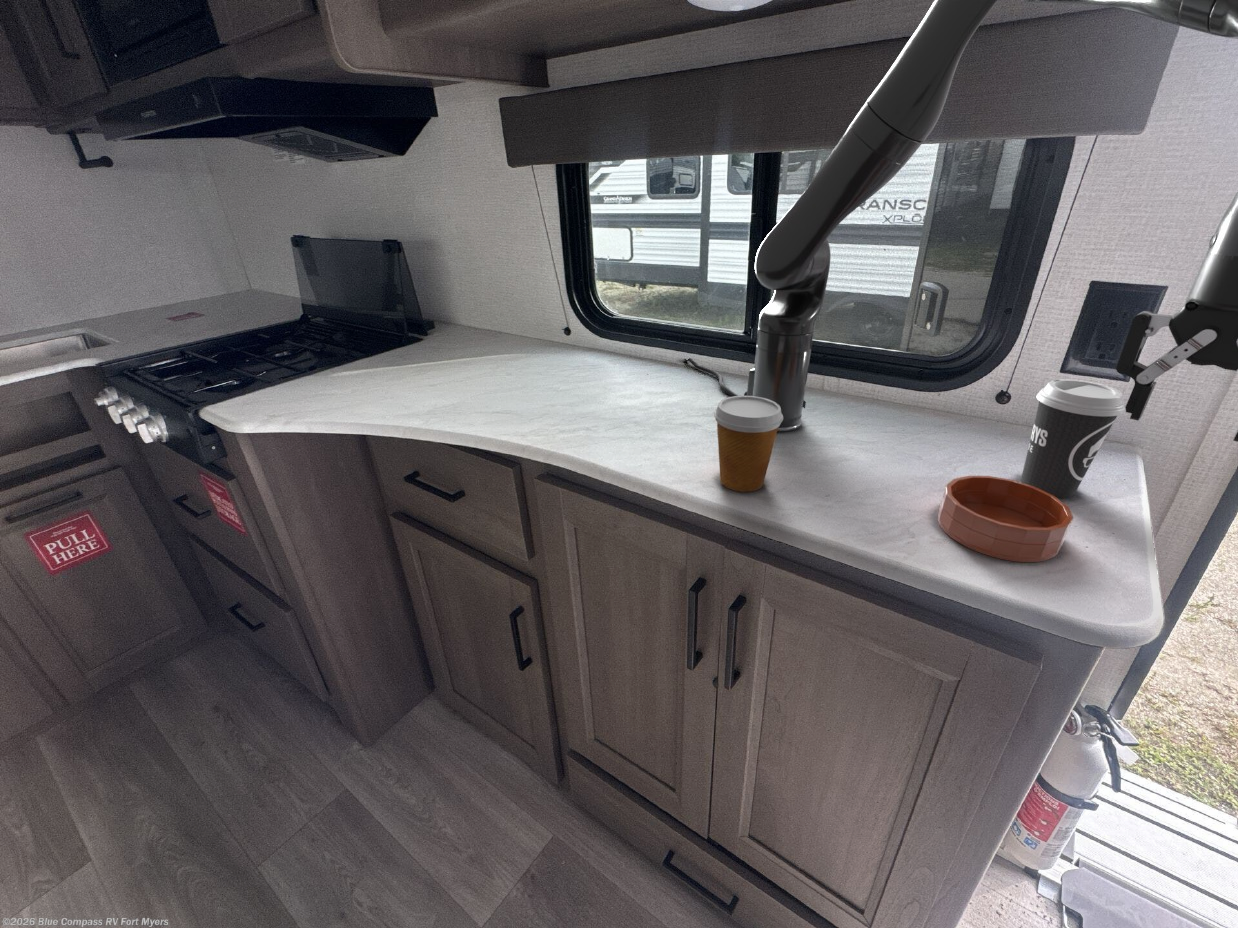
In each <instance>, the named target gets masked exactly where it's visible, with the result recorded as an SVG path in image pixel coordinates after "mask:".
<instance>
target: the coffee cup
mask: <svg viewBox="0 0 1238 928" xmlns="http://www.w3.org/2000/svg"><path fill="white" fill-rule="evenodd" d="M1035 397H1036V399H1037V401H1038V403H1037V409H1036V413H1035V417H1034V422H1033V426H1032V430H1031V431H1032V432H1031V434H1030V439H1029V443H1028V448H1027V452H1026V456H1025V460H1024V464H1023V470H1022V473H1021V478H1020V482H1021V483H1024V484H1028V485H1031V486H1034V487H1036V488H1039V489H1041V490H1043V491H1045V492H1047V493H1049V494H1051V495H1053V496H1055V497H1057V498H1058V499H1068V498H1072V497H1074V496H1075V494H1076V493H1077V490H1078V489H1079V487H1080V485H1081V483H1082V482H1083V479H1084V477H1085V476H1086V474H1087V472H1088V470H1089V468H1090V467H1091V465H1092V463H1093V461H1094V459H1095V458H1096V455H1097V454H1098V452H1099V450H1100V448H1101V446H1102V445H1103V443H1104V440H1105V439H1106V437H1107V435H1108V433H1109V432H1110V430H1111V429H1112V427H1113V425H1114V423H1115V421H1116V420H1117V417H1118V416H1121V415H1123V414H1124V413H1125V411H1126V408H1125V407H1126V405H1125V402H1124V400H1123V393H1122V392H1121V391H1120V390H1119V389H1117V388H1115V387H1112V386H1110V385H1106V384H1102V383H1098V382H1094V381H1089V380H1082V379H1071V378H1059V379H1058V378H1057V379H1052V380H1050V381H1049V382H1048V383H1047V384H1046V385H1045V386H1044V387H1042V388H1041V389H1040V390H1039V391H1038V393H1037V394H1036V396H1035Z"/></svg>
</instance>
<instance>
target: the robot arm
mask: <svg viewBox="0 0 1238 928" xmlns="http://www.w3.org/2000/svg"><path fill="white" fill-rule="evenodd" d="M998 1H999V0H934V1H933V2H932V5H931V6H930V8H929V9H928V11H927V12H926V14H925V16H924V17H923V19H922V20H921V22H920V23H919V25H918V27H917V28H916V29H915V31H914V32H913V34H912V36H911V37H910V38H909V40H908V41H907V42H906V44H905V45H904V47H903V49H902V50H901V52H900V53H899V55H898V56H897V57H896V58H895V61H894V62H893V64H892V65H891V67H890V68H889V70H888V71H887V72H886V74H885V75H884V76H883V78H882V79H881V81H880V82H879V83H878V85H877V86H876V87H875V89H874V90H873V92H872V93H871V94H870V96H869V97H867V100H866V101H865V103H863V106H861V108H860V110H859V111H858V112H857V114H856V115H855V117H854V119H852V121H851V123H850V124H849V125H848V127H847V129H846V130H845V132H844V133H843V134H842V136H841V137H840V139H839V141H838V142H837V144H835V146H834V148H833V149H832V151H831V152H830V153H829V155H828V156H827V158H826V160H824V162H823V163H822V165H821V166H820V168H819V169H818V171H817V172H816V174H815V175H814V176H813V178H812V179H811V181H810V182H809V184H808V185H807V186H806V188H805V189H804V191H803V193H802V194H801V195H800V196H799V198H797V200H796V201H795V202H794V204H793V205H792V206H791V207H790V209H789V210H788V211H787V212H786V213H785V214H784V215H783V216H782V218H781V219H780V220H779V221H778V222H777V224H776V225H775V226H774V227H773V228H772V230H771V231H770V232H769V233H768V234H767V235H766V237H765V238H764V240H763V241H762V242H761V244H760V246H759V248H758V249H757V252H756V256H755V262H754V270H755V271H754V272H755V276H756V278H757V280H758V282H759V284H760V285H761V286H763V287H764V288H766V289H768V290H772V291H774V293H773V296H772V297H771V300H770V301H769V303H768V304H767V305H766V306H765V307H764V308H763V309H762V310H761V311H760V314H759V317H758V324H757V325H758V326H757V327H758V328H757V336H756V347H755V358H754V367H753V368H752V369H750V370H749V371H748V377H747V378H748V379H747V388H746V389H747V390H746V391H745V392H744V393H743V396H755V397H762V398H766V399H769V400H772V401H774V402H776V403H777V404H778V405H779V406H780V407H781V413H782V415H783V421H782V422H781V424H780V426H779V427H778V431H777V432H790V431H794V430H797V429H798V428H800V427H801V425H802V417H803V409H806V405H807V401H805V394H806V388H807V381H808V374H809V367H810V360H811V353H812V346H813V339H814V333H815V326H816V322H817V319H818V318H819V316H820V314H821V313H822V312H821V311H822V309H823V306H824V300H825V295H826V294H825V293H826V288H827V284H828V280H829V276H830V275H829V274H830V268H831V259H832V258H831V254H832V253H831V247H830V242H829V240H828V238H829V237H830V235H831V234H832V232H833V231H834V230H835V229H836V228H837V227H838V226H839V225H840V224H841V223H842V222H843V221H844V220H845V219H846V218H847V217H848V216H849V215H850V214H852V213H853V212H854V211H855V210H856V209H858V208H859V207H860V206H862V205H863V204H864V203H866V202H867V201H868V200H869V199H871V197H874V195H875V194H876V193H878V192H879V191H880V190H881V189H882V188H883V187H885V186H886V185H887V184H888V183H889V182H890V181H891V180H892V179H893V178H894V177H895V176H896V175H897V174H898V173H899V172H900V171H901V170H902V168H903V167H904V166H905V165H906V164H907V163H908V161H909V160H910V159H911V158H912V157H913V155H914V154H915V153H916V152H917V150H918V149H920V147H921V146H922V144H923V143H924V142H925V141H926V140H927V138H928V137H929V135H930V134H931V133H932V131H934V128H935V127H936V126H937V124H938V121H939V120H940V117H941V114H942V112H943V111H944V107H945V104H946V102H947V98H948V97H949V93H950V89H951V86H952V83H953V80H954V77H955V74H956V71H957V68H958V65H959V63H960V60H961V58H962V56H963V53H964V51H965V49H966V48H967V45H968V44H969V42H970V40H971V38H972V37H973V36H974V35H975V32H976V31H977V29H978V28H979V27H980V25H981V24H982V23H983V21H984V20H985V19H986V18H987V16H988V15H989V13H990V12H991V10H992V9H993V8H994V6H995V5H996V4H997V3H998ZM1020 1H1021V2H1027V3H1046V4H1047V3H1050V4H1051V3H1052V4H1086V5H1096V6H1104V7H1110V8H1116V9H1120V10H1124V11H1127V12H1131V13H1136V14H1139V15H1142V16H1144V17H1145V16H1146V17H1149V18H1152V19H1155V20H1159V21H1162V22H1165V23H1168V24H1172V25H1175V26H1179V27H1182V28H1186V29H1190V30H1193V31H1197V32H1201V33H1204V34H1207V35H1212V36H1215V37H1216V36H1217V37H1221V38H1226V39H1233V40H1238V0H1020ZM1163 327H1168V329H1169V331H1170V333H1171V335H1172V337H1173V340H1174V342H1175V344H1176V346H1175V347H1173V348H1171V349H1170V350H1168V351H1167V352H1166V353H1164V354H1163V355H1162V356H1160V357H1159V358H1158V359H1156V360H1154V361H1153V362H1151V363H1150V364H1148V365H1145V364H1143V363H1141V362H1139V360H1140V357H1141V353H1142V350H1143V347H1144V345H1145V342H1146V339H1147V338H1148V337H1153V336H1155V335H1157V333H1158V332H1159V331H1160V329H1162V328H1163ZM1185 360H1186V361H1187V362H1190V365H1194V366H1195V365H1196V366H1216V367H1218V368H1221V369H1223V370H1228V371H1235V372H1237V371H1238V191H1237V192H1235V194H1234V197H1233V199H1232V201H1231V202H1230V204H1229V206H1228V207H1227V209H1226V211H1225V212H1224V214H1223V215H1222V218H1221V219H1220V221H1219V223H1218V225H1217V227H1216V230H1215V232H1214V234H1212V236H1211V238H1210V240H1209V242H1208V249H1207V251H1206V253H1205V256H1204V258H1203V261H1202V262H1201V265H1200V266H1199V270H1198V272H1197V274H1196V277H1195V279H1194V280H1193V283H1192V286H1191V288H1190V291H1189V293H1188V294H1187V297H1186V299H1185V302H1184V304H1183V306H1182V308H1181V309H1180V310H1179V311H1178V312H1176V313H1175V314H1174V315H1173V314H1163V313H1153V312H1152V311H1151V310H1143V311H1141V312H1139V313H1138V314H1137V315H1135V316H1133V318H1132V321H1131V324H1130V327H1129V329H1128V333H1127V335H1126V338H1125V341H1124V344H1123V347H1122V350H1121V353H1120V355H1119V359H1118V362H1117V364H1116V368H1115V370H1116V372H1117V373H1118V374H1120V375H1125V376H1126V377H1129V378H1132V380H1133V382H1134V384H1133V387H1132V390H1131V393H1130V395H1129V398H1128V400H1127V402H1126V403H1125V413H1128V414H1130V417H1129V420H1132V421H1138V422H1139V421H1140V419H1141V418H1142V416H1143V415H1144V412H1145V410H1146V408H1147V405H1148V403H1149V401H1150V398H1151V396H1152V393H1153V391H1154V389H1155V387H1156V385H1157V382H1156V381H1155V380H1156V379H1157V378H1159V377H1160V376H1162V375H1163V374H1165V373H1167V372H1168V371H1169V370H1171V369H1173V368H1174V367H1175V366H1177V365H1179V364H1180V363H1182V362H1183V361H1185ZM687 362H689V363H690V364H691V365H692V366H694V367H695V368H696V369H698V370H700V371H703V372H705V373H708V374H711V375H712V376H714V377H716V378H717V379H718V384H719V387H720V389H721V390H722V391H724V393H726V394H727V395H729V397H733V396H739V395H738V394H737V393H735V392H733V391H732V390H731V389H730V388H729V387H727V386H726V385H725V384H724V377H723V376H722V375H721V373H719V372H717V371H716V370H714V369H711V368H708V367H706V366H703V365H701V364H699V363H697V362H696V361H695V360H694V359H693V358H691V357H690V358H689V359H688V360H686V359H685V358H684V359H683V360H682V363H687ZM1232 441H1233V442H1237V443H1238V429H1237V430H1236V432H1235V435H1234V437H1233V440H1232Z"/></svg>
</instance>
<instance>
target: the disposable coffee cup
mask: <svg viewBox="0 0 1238 928" xmlns="http://www.w3.org/2000/svg"><path fill="white" fill-rule="evenodd" d="M713 415H714V418H715V421H716V427H717V428H716V430H717V446H718V462H719V463H718V464H719V482H720V484H721V485H722V486H724V487H725V488H727V489H729V490H732V491H735V492H743V493H744V492H748V493H749V492H755V491H757V490H759V489H761V488H762V487H763V486H764V483H765V479H766V475H767V472H768V468H769V464H770V460H771V457H772V453H773V449H774V445H775V442H776V438H777V434H778V432H779V431H778V427H779V426H780V424H781V422H782V421H783V415H782V413H781V407H780V406H779V405H778V404H777V403H776V402H774V401H772V400H769V399H766V398H762V397H755V396H744V395H738V396H733V397H731V396H729V397H725V398H723V399H721V400H719V402H718V404H717V407H716V408H715V409H714V411H713Z"/></svg>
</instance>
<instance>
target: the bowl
mask: <svg viewBox="0 0 1238 928" xmlns="http://www.w3.org/2000/svg"><path fill="white" fill-rule="evenodd" d="M1073 521H1074V515H1073V513H1072V511H1071V509H1070V507H1069V506H1068V505H1067V504H1066V503H1065V502H1063V501H1061V499H1060V498H1057V497H1055V496H1053V495H1051V494H1049V493H1047V492H1045V491H1043V490H1041V489H1039V488H1036V487H1034V486H1031V485H1028V484H1024V483H1021V481H1017V480H1014V479H1010V478H1004V477H998V476H992V475H965V476H961V477H956V478H953V479H952V480H951V481H949V482H948V483H947V484H946V485H945V488H944V491H943V495H942V498H941V500H940V505H939V508H938V515H937V522H938V525H939V527H940V528H941V530H942V531H943V532H944V533H945V534H946V535H947V536H949V537H950V538H951V539H952V540H954V541H955V542H957V543H958V544H960V545H962V546H964V547H966V548H968V549H970V550H973V551H974V552H976V553H980V554H982V555H986V556H989V557H992V558H996V559H1000V560H1005V561H1010V562H1017V563H1037V562H1044V561H1048V560H1050V559H1053V558H1054V557H1056V556H1057V555H1058V553H1059V552H1060V550H1061V548H1062V547H1063V544H1064V542H1065V539H1066V537H1067V535H1068V532H1069V531H1070V528H1071V525H1072V523H1073Z"/></svg>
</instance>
